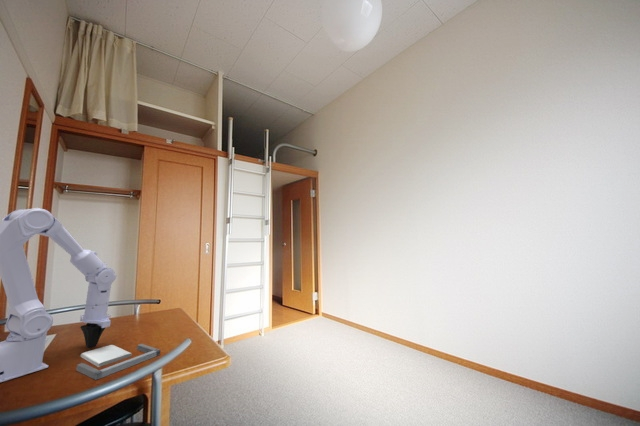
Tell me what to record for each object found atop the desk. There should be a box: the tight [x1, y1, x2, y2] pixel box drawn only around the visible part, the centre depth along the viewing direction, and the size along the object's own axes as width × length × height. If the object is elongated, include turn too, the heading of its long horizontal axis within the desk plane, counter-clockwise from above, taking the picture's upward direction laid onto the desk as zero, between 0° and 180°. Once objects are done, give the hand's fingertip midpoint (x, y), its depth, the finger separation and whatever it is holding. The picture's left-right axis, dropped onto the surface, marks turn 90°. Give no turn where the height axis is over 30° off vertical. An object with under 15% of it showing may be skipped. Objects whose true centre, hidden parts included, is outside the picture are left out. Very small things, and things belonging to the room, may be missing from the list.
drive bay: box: [76, 343, 161, 381], centre depth 72 cm, size 16×10×2 cm, turn 155°
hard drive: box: [80, 344, 133, 368], centre depth 76 cm, size 2×8×12 cm
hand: (91, 347), depth 80 cm, fingers closed
